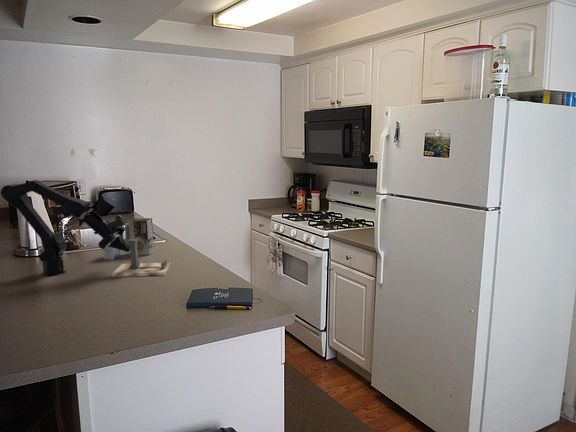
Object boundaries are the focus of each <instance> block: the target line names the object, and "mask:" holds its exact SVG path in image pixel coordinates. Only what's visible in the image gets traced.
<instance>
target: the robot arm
mask: <svg viewBox="0 0 576 432" xmlns="http://www.w3.org/2000/svg"><path fill="white" fill-rule="evenodd" d="M31 192H33V193H35V194H37V195H39V196H41V197H42V198H45V199H46V200H49V201H51V202H53V203H55V204H57V205H59V206H61V207H62V208H63V209H64V211H66V212H67V213H68V214H70V215H71V216H73V217H76V218H77V217H80V218H78V226H79V227H80V226H83V225H84V224H86V225H87V226H88V227H89V228H90V229H91V230H93V231H94V232H93V234H94V235H98V236H100V237H101V238H102V239H101V240H100V241H99V242H98V247H99V248H100V249H102V250H103V249H104V248H105V247H106V246H107V244H108V243H109V242H110V245H109V246H108V247H112V248H116V249H119V250H120V251H123V252H126V253H130V248H129V247H128V245H127V244H126V242H125V241H124V232H125V231H126V230H127V228H126V227H125V225H127V223H128V221H126V217H125V216H124V215H123V216H122V215H121V214H120V215H117V216H115V219H114V220H112V221H110V220H108V219H107V220H106V219H104V218H103V217H108V215H109V214H110V213H111V212H112V211H113V210H114V209H115V208H116V207H117V204H116V202H115V201H114V200H112V199H111V198H109V197H107V196H105V195H104V194H101V195H99V197H98V198H97V200H96V201H95V202H93V203H92V202H91V203H90V202H87V201H86V200H84V199H81V198H79V197H78V198H77V197H73V196H69V195H66V194H64V193H62V192H60V191H58V190H56V189H54V188H53V187H51V186H49V185H47V184H45V183H43V182H42V181H40V180H38V179H34V180H30V181H27V182H24V183H12V184H7V185H4V186H2V188H1V189H0V196H1V198H2V199H4V200H5V201H6V202H7V203H8V204H10V205H11V206H13V207H14V208H15V209H17V210H18V211H19V213H20V214H21V215H22V216H23V218H24V219H25V220H26V222H27V223H28V224H29V226H30V227H31V228H32V229H33V231H34V232H35V233H36V234H37V235H38V237H39V238H40V241H41V242H40V243H41V246H42V248H43V250H44V251H42V253H41V254H39V256H38V258H39V260H40V262H42V263H41V264H42V272H41V273H40V274H41V275H45V276H48V277H53V276H56V275H59V274H60V275H61V274H64V273H66V270H65V269H64V260H63V253H64V252H65V251H66V250H67V246H68V245H67V239H66V238H64V237H63V235H62V233H61V232H57V233H55V232H53V231H52V230H51V229H50V227H49V226H48V225H47V223H46V222H45V221H44V219H43V218H42V216H40V214H39V212H38V211H37V210H36V208H34V206H32V204H31V202H30V200H29V195H28V193H31ZM89 211H91V212H90V213H89ZM81 216H83V217H81Z"/></svg>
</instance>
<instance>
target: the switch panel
mask: <svg viewBox="0 0 576 432" xmlns="http://www.w3.org/2000/svg"><path fill="white" fill-rule="evenodd" d="M139 263H140V266H139V267H138V268H130V265H131V263H122V264H120V265H119V266H118V268H116V269H115V270H114V271H113V272H112V273H111V277H112V278H115V277H118V278H120V277H121V278H122V277H150V276H149V275H156V276H166V274H167V273H168V271H169V270H170V268H171V266H172V262H167V259H163V260H162V261H161V262H147V263H145V262H143V263H141V262H139ZM166 272H167V273H166Z"/></svg>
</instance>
